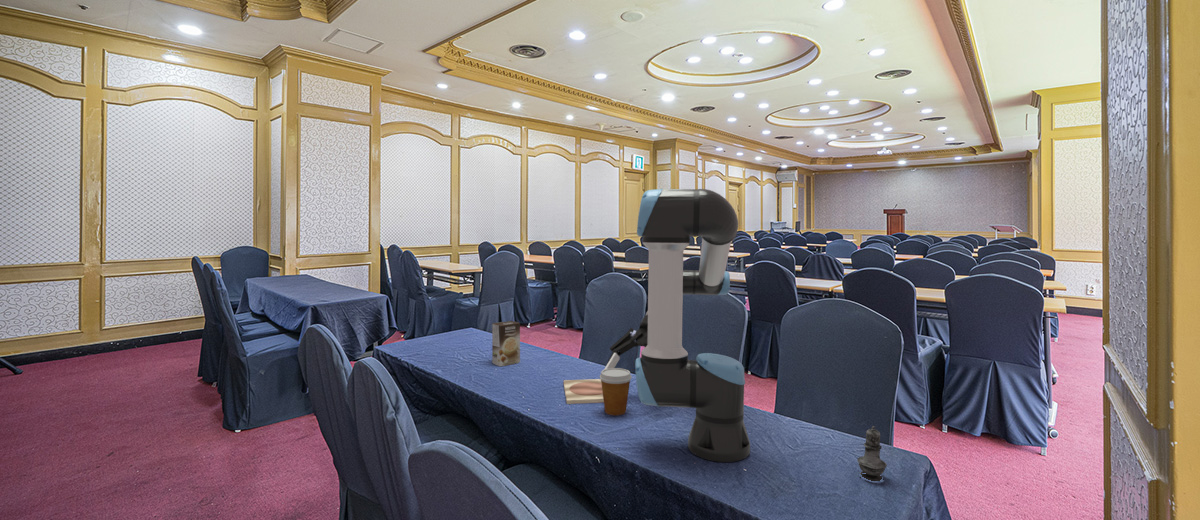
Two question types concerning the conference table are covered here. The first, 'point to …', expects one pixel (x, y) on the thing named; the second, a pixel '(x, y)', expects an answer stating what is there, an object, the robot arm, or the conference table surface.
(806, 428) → the conference table surface
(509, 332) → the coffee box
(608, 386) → the disposable coffee cup
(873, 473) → the dark grey chess piece
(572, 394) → the birch board
